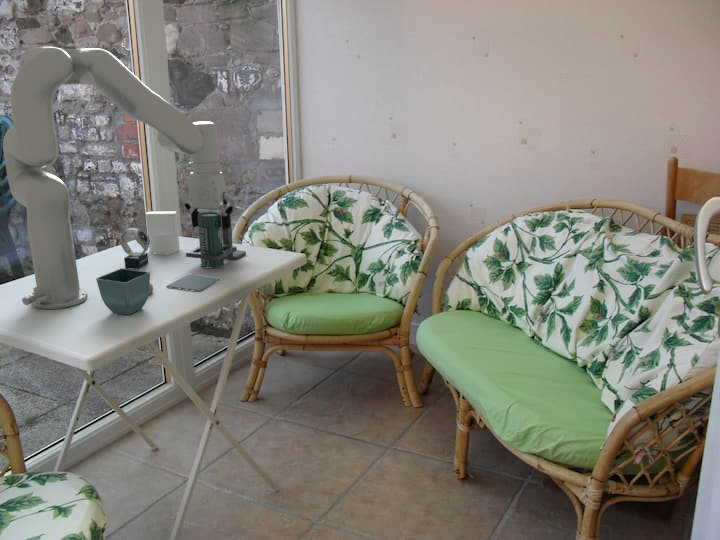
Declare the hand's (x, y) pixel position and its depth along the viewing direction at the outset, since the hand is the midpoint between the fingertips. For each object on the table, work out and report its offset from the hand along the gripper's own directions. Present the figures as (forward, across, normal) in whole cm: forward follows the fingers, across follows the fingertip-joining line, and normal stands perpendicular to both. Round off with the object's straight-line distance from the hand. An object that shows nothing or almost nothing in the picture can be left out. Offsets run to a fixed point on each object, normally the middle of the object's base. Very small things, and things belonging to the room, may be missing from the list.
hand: (211, 227), depth 188 cm
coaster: (+11, +4, -17) cm, 20 cm away
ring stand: (+11, 0, +3) cm, 12 cm away
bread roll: (+11, -6, -28) cm, 30 cm away
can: (+11, 0, -1) cm, 11 cm away
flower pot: (+11, 0, -39) cm, 40 cm away
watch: (+11, -20, -9) cm, 25 cm away
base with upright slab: (+11, -22, +7) cm, 26 cm away
